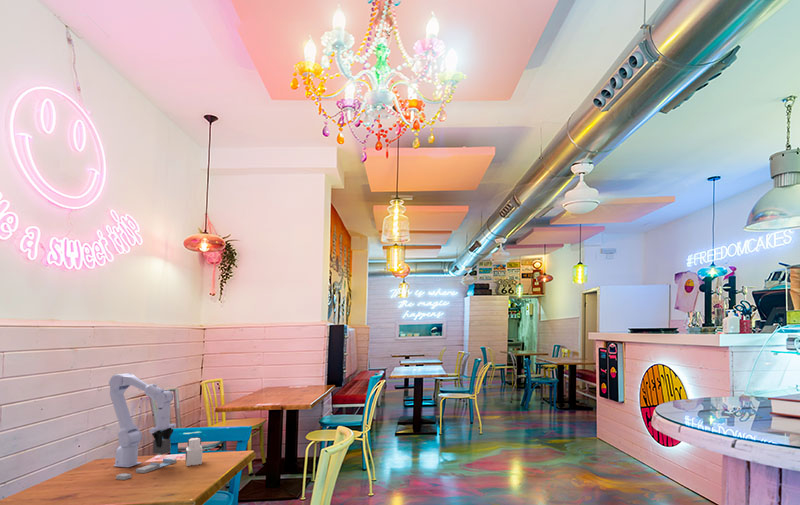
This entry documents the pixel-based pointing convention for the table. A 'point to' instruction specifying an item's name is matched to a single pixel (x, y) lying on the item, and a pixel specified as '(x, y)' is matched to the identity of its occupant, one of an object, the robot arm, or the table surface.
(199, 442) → the medicine bottle
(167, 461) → the flanged white bar
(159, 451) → the grey tapered block
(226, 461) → the table surface
